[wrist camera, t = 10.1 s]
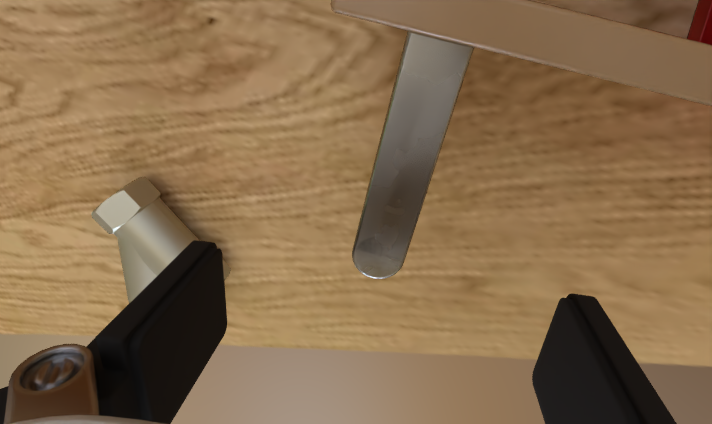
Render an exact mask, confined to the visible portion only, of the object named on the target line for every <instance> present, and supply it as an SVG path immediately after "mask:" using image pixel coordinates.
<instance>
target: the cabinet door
mask: <svg viewBox="0 0 712 424" xmlns="http://www.w3.org/2000/svg"><path fill="white" fill-rule="evenodd" d="M331 9H332V10H333V11H334V12H335V13H339V14H343V15H347V16H351V17H355V18H359V19H363V20H367V21H371V22H375V23H379V24H383V25H387V26H391V27H395V28H399V29H403V30H407V31H408V32H407V36H406V40H405V44H404V48H403V52H402V55H401V59H400V63H399V67H398V71H397V75H396V79H395V83H394V87H393V91H392V95H391V99H390V103H389V106H388V110H387V114H386V118H385V122H384V126H383V130H382V134H381V138H380V142H379V146H378V150H377V154H376V157H375V161H374V165H373V169H372V174H371V178H370V182H369V186H368V190H367V194H366V198H365V202H364V206H363V210H362V214H361V218H360V222H359V226H358V230H357V234H356V238H355V242H354V246H353V251H352V258H353V262H354V264H355V266H356V267H357V269H358V270H359V271H360V272H361V273H363V274H364V275H366V276H368V277H371V278H377V279H382V278H387V277H390V276H392V275H394V274H396V273H397V272H398V271H399V270H400V269H401V267H402V266H403V263H404V260H405V257H406V254H407V251H408V248H409V245H410V242H411V239H412V236H413V233H414V230H415V227H416V224H417V221H418V217H419V214H420V211H421V208H422V205H423V202H424V199H425V196H426V193H427V190H428V187H429V184H430V181H431V178H432V175H433V171H434V168H435V165H436V162H437V159H438V156H439V153H440V150H441V147H442V144H443V141H444V138H445V135H446V132H447V129H448V125H449V122H450V119H451V116H452V113H453V110H454V107H455V104H456V101H457V98H458V95H459V92H460V89H461V86H462V83H463V79H464V76H465V73H466V70H467V67H468V64H469V61H470V58H471V55H472V52H473V49H474V48H473V47H476V48H480V49H484V50H488V51H492V52H496V53H500V54H504V55H508V56H512V57H516V58H520V59H524V60H528V61H532V62H536V63H540V64H544V65H548V66H552V67H556V68H560V69H564V70H568V71H572V72H576V73H580V74H584V75H588V76H592V77H596V78H600V79H604V80H608V81H612V82H617V83H621V84H625V85H629V86H633V87H637V88H641V89H645V90H649V91H653V92H657V93H661V94H665V95H669V96H673V97H677V98H681V99H685V100H689V101H693V102H697V103H701V104H705V105H709V106H712V45H710V44H706V43H702V42H697V41H693V40H689V39H685V38H681V37H677V36H673V35H669V34H665V33H661V32H657V31H653V30H649V29H645V28H641V27H637V26H633V25H629V24H625V23H620V22H616V21H612V20H608V19H604V18H600V17H596V16H592V15H588V14H584V13H580V12H576V11H572V10H568V9H564V8H560V7H556V6H552V5H548V4H543V3H539V2H535V1H531V0H331Z"/></svg>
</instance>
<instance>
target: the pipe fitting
mask: <svg viewBox="0 0 712 424" xmlns="http://www.w3.org/2000/svg"><path fill="white" fill-rule="evenodd" d="M160 196H161V193H160V192H159V191H158V190H157V189H156V188H155V187H154V185H153V184H152V183H151V182H150V181H149V180H148V179H147V178H146V177H140V178H138V179H136V180H134V181H132V182H131V183H129V184H127V185H126V186H124V187H123V188H122V189H120V190H119V191H117V192H116V193H115V194H113V195H112V196H110V197H109V198H108V199H107V200H105V201H104V202H103V203H101V204H100V205H99V206H98V207H97V208H96V209H95V210H94V211H93V212H92V218H93V219H94V220H95V221H96V222H97V223H98V224H99V225H100V226H101V227H102V228H103V229H104V230H105V231H107V232H108V233H109V234H114V235H116V236H117V239H118V244H119V250H120V256H121V262H122V267H123V273H124V279H125V285H126V290H127V296H128V301H129V303H130V302H131V301H133V300H134V299H135V298H136V297H137V296H138V295H139V294H140V293H141V292H142V291H143V290H144V289H145V288H146V287H147V286H148V285H149V284H150V283H151V282H152V281H153V280H154V279H155V278H156V277H157V276H158V275H159V274H160V273H161V272H162V271H163V270H164V269H165V268H166V267H167V266H168V265H169V264H170V263H171V262H172V261H173V260H174V259H175V258H176V257H177V256H178V255H179V254H180V253H181V252H182V251H183V250H184V249H185V248H186V247H187V246H188V245H189V244H190V243H191V242H192V241H194V240H198V241H200V240H199V239H198V238H197V237H196V236H195V235H194V234H193V233H192V232H191V231H190V230H189V229H188V228H187V227H186V226H185V224H184V223H183V222H182V221H181V220H180V219H179V218H178V217H177V216H176V215H175V214H174V213H173V212H172V211H171V210H170V209H169V208H168V207H167V205H166V204H165V203H164V202H163V201H162V200H161V199H160ZM230 271H231V267H230V266H229V265H228V264H227V263H226V262H225V261H224V260H223V272H224V281H225V279H226V278H227V277H228V275H229V273H230Z"/></svg>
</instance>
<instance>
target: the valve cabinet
mask: <svg viewBox="0 0 712 424" xmlns="http://www.w3.org/2000/svg"><path fill="white" fill-rule="evenodd" d="M687 39H689V40H693V41H697V42H702V43H706V44H710V45H712V0H699V2H698V5H697V8H696V12H695V15H694V18H693V21H692V25H691V28H690V31H689V34H688V37H687Z"/></svg>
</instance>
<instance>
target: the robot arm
mask: <svg viewBox="0 0 712 424" xmlns="http://www.w3.org/2000/svg"><path fill="white" fill-rule="evenodd" d="M226 328H227V314H226V300H225V286H224V272H223V258H222V251H221V249H218V248H217V246H216V244H215V243H212V242H205V241H198V240H194V241H192V242H191V243H190V244H189V245H188V246H187V247H186V248H185V249H184V250H183V251H182V252H181V253H180V254H179V255H178V256H177V257H176V258H175V259H174V260H173V261H172V262H171V263H170V264H169V265H168V266H167V267H166V268H165V269H164V270H163V271H162V272H161V273H160V274H159V275H158V276H157V277H156V278H155V279H154V280H153V281H152V282H151V283H150V284H149V285H148V286H147V287H146V288H145V289H144V290H143V291H142V292H141V293H140V294H139V295H138V296H137V297H136V298H135V299H134V300H133V301H131V302H130V303H129V304H128V305H127V306H126V307H125V308H124V309H123V310H122V311H121V312H120V313H119V314H118V315H117V316H116V317H115V318H114V319H113V320H112V321H111V322H110V323H109V324H108V325H107V326H106V327H105V328H104V329H103V330H102V331H101V332H100V333H99V334H98V335H97V336H96V337H95V339H94V340H93V341H92V342H91V343H90V344H89V345H88V346H87V347H85V346H82V345H78V344H63V345H58V346H53V347H50V348H47V349H45V350H42V351H40V352H38V353H36V354H34V355H32V356H30V357H29V358H27V360H25V361H24V362H23V363H21V364H20V365H19V366H18V367H17V368H16V370H15V371H14V372H13V373H12V376H11V378H10V381H9V386H8V387H5V388H2V389H0V424H170V423H171V422H172V420H173V418H174V417H175V415H176V413H177V412H178V410H179V409H180V407H181V405H182V404H183V402H184V400H185V399H186V397H187V395H188V394H189V392H190V391H191V389H192V387H193V385H194V384H195V382H196V381H197V379H198V377H199V376H200V374H201V372H202V371H203V369H204V367H205V366H206V364H207V362H208V361H209V359H210V358H211V356H212V354H213V353H214V351H215V349H216V347H217V346H218V344H219V343H220V341H221V339H222V338H223V336H224V334H225V331H226ZM532 377H533V379H532V380H533V386H534V389H535V393H536V395H537V399H538V402H539V405H540V408H541V411H542V414H543V418H544V421H545V424H676V422H675V421H674V419H673V417H672V416H671V414H670V413H669V411H668V410H667V408H666V407H665V405H664V404H663V402H662V400H661V399H660V397H659V396H658V394H657V392H656V391H655V389H654V388H653V386H652V385H651V383H650V382H649V380H648V379H647V377H646V375H645V374H644V372H643V371H642V369H641V368H640V366H639V364H638V363H637V361H636V360H635V358H634V357H633V355H632V354H631V352H630V350H629V349H628V347H627V346H626V344H625V343H624V341H623V340H622V338H621V336H620V335H619V333H618V332H617V330H616V329H615V327H614V325H613V324H612V322H611V321H610V319H609V318H608V316H607V315H606V313H605V311H604V310H603V308H602V307H601V305H600V304H599V302H598V301H597V299H596V298H595V297H592V296H585V295H578V294H569V295H568V296H567V298H561V299H560V301H559V303H558V305H557V308H556V311H555V314H554V316H553V319H552V322H551V324H550V327H549V330H548V333H547V335H546V338H545V341H544V343H543V346H542V349H541V352H540V354H539V357H538V360H537V363H536V365H535V368H534V371H533V376H532Z"/></svg>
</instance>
